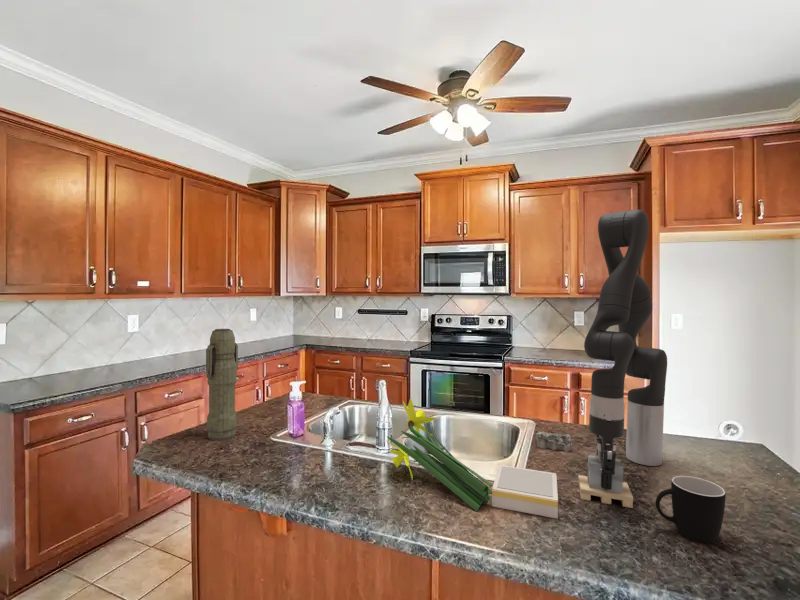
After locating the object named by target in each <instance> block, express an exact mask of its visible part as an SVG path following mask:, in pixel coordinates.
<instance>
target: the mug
mask: <svg viewBox="0 0 800 600" xmlns="http://www.w3.org/2000/svg"><path fill="white" fill-rule="evenodd" d="M670 484H671V486H670V487H671V488H669V489H668V488H667V489H665V490H662V491H661V492H660V493H658V494H657V495H656V498H655V508H656V510H657V512H658V514H659V516H661V517H662V518H663V519H665V520H667V521H669V522H670V523H674V526H675V527H676V529H677V531H678V532H679V534H680V535H682V536H684V537H685V538H687V539H689V540H691V541H695V542H698V543H702V544H712V543H714V542H716V541H717V539H718V537H719V535H720V533H721V529H722V526H723V522H724V521H723V520H724V516H725V510H726V509H725V508H726V497H727V496H726V491H725V490H724V488H723V487H722V486H721V485H718V484H717V483H714V482H712V481H710V480H707V479H703V478H700V477H696V476H691V475H690V476H688V475H676V476H673V477H671V483H670ZM667 495H671V507H672V516H670V515H667V514H665V512H663V510H662V509H661V506H660V504H661V501H662V499H663V498H664V497H665V496H667Z"/></svg>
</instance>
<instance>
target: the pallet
mask: <svg viewBox="0 0 800 600" xmlns="http://www.w3.org/2000/svg"><path fill="white" fill-rule="evenodd" d="M587 459H588V460H587V476H585V475H582V474H581V475H578V476H577V479H578V490H579V495H580V500H582V501H589V502H590V501H591V500H592V498H591V496H595V497H599V498H600V502H601V503H602V504H605V505H612V499H613V500H618V501H620V502H621V505H622V507H623V508H624V507H625V508H631V509H633V508H634V506H633V504H634V503H633V502H634V496H633V494H632V492H631V489H630V487H629V484H628V482H626V481H624V466H623V464H622V462H621V459H618V458H616V459H615V474H614V475H612V488H611V490H608V489H603V488H601V471H600V469H601V462H599V460H598V457H597V455H590V454H589V455H587ZM602 459H603V457H602ZM605 468H609V469H610V466H607V465H606V466H605Z"/></svg>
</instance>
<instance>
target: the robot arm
mask: <svg viewBox="0 0 800 600" xmlns="http://www.w3.org/2000/svg"><path fill="white" fill-rule="evenodd" d="M649 223H650V222H649V218H648V215H647V213H646V212H645V211H644V210H642V209H632V210H624V211H615V212H610V213H604V214H602V215H601V216H600V217H599V219H598V224H597V233H598V239H599V242H600V247H601V250H602V253H603V257H604V261H605V264H606V267H607V272H608V277H607V279H606V280H605V281H604V282H603V285H602V287H601V289H600V294H599V299H598V307H597V310H596V315H595V318H594V320H593V321H592V324H591V327H590V328H589V330H588V332H587V335H586V336H585V339H584V344H583V348H584V351H585V353H586V355H587V356H588V357H589V358H591V359H592V360H593V359H594V360H601V361H608V362H609V361H611V362H614V365H613V367H611V368H599V369H595V370H593V372H592V373H591V382H590V383H591V385H590V386H591V387H590V389H591V390H590V400H589V415H588V416H589V417H588V418H589V419H588V421H589V422H588V430H589V431H590V432H591V433H592V434H594V435H595V436H596V438H595V445H596V448H595V452H596V453H595V456H597V457H598V460H599V462H601V469H600V471H601V488H603V489H608V490H611V488H612V475H614V474H615V459H617V452H616V451H617V444H616V443H615V440H614V439H616V438H617V439H618V438H622V437H623V436H624V433H625V432H624V431H625V400H624V399H625V398H624V396H625V394H624V393H625V378H626V375H627V377H628V376H629V377H632V378H636V379H637V378H638V379H643V380H648V381H649V385H646V386H644V387H637V388H632V389H629V390H628V391H627V403H626V404H627V407H626V410H627V411H626V412H627V413H626V436H625V437H626V439H625V458H626V459H627V460H629V461H631V462H633V463H636V464H638V465H639V464H640V465H643V466H647V467H657V466H660V465H662V464H663V448H664V445H663V444H664V419H665V416H664V413H665V395H666V383H667V373H668V357H667V356H668V355H667V353H666V351H665V350H663V349H661V348H653V347H644V346H638V345H637V337H638V334H639V333H640V330H641V329H642V328H643V327H644V325H645V324H646V323H647V322H648V319H649V318H650V317H651V314H652V312H653V303H652V295H651V291H650V290H651V289H650V286H649V285H648V283H647V282H646V281H645V279H644V278H643V277H642V276H641V275H640V274H639V269H640V266H641V263H642V259H643V256H644V254H645V253H644V252H645V249H646V245H647V242H648V238H649V232H650V224H649ZM621 248H627V250H626V252H625V255H624V256H623V253H622V250H621ZM614 326H618V331H610V330H609V331H608V329H609V328H611V327H614ZM602 457H603V459H602ZM606 465H607V466H610V469H609V468H605V466H606Z"/></svg>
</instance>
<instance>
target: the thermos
mask: <svg viewBox="0 0 800 600" xmlns="http://www.w3.org/2000/svg"><path fill="white" fill-rule="evenodd" d="M238 358H239V346H238V343H236V337H235V334H234V331H233V329H231V328H216V329H214V330H212V331H211V334H210V337H209V345H207V348H206V350H205V374H206V377H205V378H206V379H207V385H208V414H207V415H206V416H207V417H206V430H207V439H209V440H212V441H220V440H221V441H222V440H228V439H231V438H234V437H235V436H236V435H237V429H236V428H237V421H238V420H237V419H238V418H237V417H238V416H237V415H238V414H237V412H236V384H237V381H238V380H237V379H238V377H237V375H238V374H237V372H238V367H239V359H238Z"/></svg>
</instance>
